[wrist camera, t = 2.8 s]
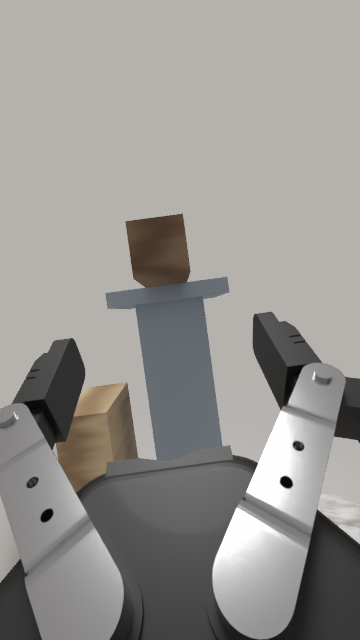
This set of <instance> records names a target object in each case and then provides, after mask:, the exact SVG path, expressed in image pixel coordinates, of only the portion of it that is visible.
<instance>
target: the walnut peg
mask: <svg viewBox="0 0 360 640" xmlns="http://www.w3.org/2000/svg"><path fill="white" fill-rule="evenodd" d="M126 228H127V235H128V242H129V249H130V257H131V264H132V271H133V278H134V279H135V280H136V281H137V282H139V283H140V284H142V285H143V286H144V287H146V288H148V287H156V286H163V285H171V284H178V283H185V282H187V279H188V277H189V274H190V266H189V258H188V250H187V242H186V235H185V227H184V220H183V214H178V215H170V216H164V217H155V218H148V219H140V220H133V221H126Z"/></svg>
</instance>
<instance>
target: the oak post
mask: <svg viewBox="0 0 360 640" xmlns="http://www.w3.org/2000/svg"><path fill="white" fill-rule="evenodd" d="M56 447H57V452H58V460H59V463H60V465H61V467H62V468H63V470H64V472H65V474H66V476H67V477H68V479H69V481H70V483H71V484H72V486H73V488H74V490H75V491H76V493H77V492H78V491H79V490H80V489H81V488H82V487H83V486H85V485H86V484H87V483H88V482H90V481H91V480H93V479H94V478H96V477H98V476H100V475H102V474H104V473H106V468H107V462H113V461H120V460H128V459H135V458H138V455H137V447H136V440H135V434H134V427H133V419H132V412H131V405H130V398H129V391H128V384H127V382H126V383H119V384H111V385H104V386H97V387H89V388H88V389H87V390H86V391H85V392H83V393H82V394H81V395H80V396H79V400H78V403H77V406H76V410H75V413H74V417H73V420H72V423H71V427H70V430H69V433H68V437H67V440H66V442H59V443H56Z"/></svg>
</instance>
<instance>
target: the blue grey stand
mask: <svg viewBox="0 0 360 640" xmlns="http://www.w3.org/2000/svg"><path fill="white" fill-rule="evenodd" d="M228 292H229V287H228V279H227V277H223V278H215V279H208V280H200V281H193V282H185V283H178V284H171V285H163V286H156V287H148V288H141V289H134V290H127V291H120V292H111V293H106V300H107V307H108V309H109V308H110V309H132V308H136V314H137V321H138V328H139V335H140V342H141V349H142V357H143V364H144V371H145V378H146V385H147V392H148V399H149V407H150V414H151V421H152V428H153V435H154V442H155V449H156V456H157V460H158V461H172V460H175V459H177V458H180V457H182V456H185V455H187V454H190V453H192V452H195V451H197V450H200V449H208V448H215V447H222V440H221V432H220V425H219V417H218V410H217V403H216V394H215V387H214V379H213V372H212V364H211V356H210V348H209V341H208V334H207V326H206V318H205V312H204V303H203V299H206V298H214V297H217V296H220V295H222V294H225V293H228Z"/></svg>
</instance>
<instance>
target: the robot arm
mask: <svg viewBox="0 0 360 640" xmlns="http://www.w3.org/2000/svg"><path fill="white" fill-rule="evenodd" d="M253 349H254V354H255V356H256V359H257V361H258V363H259V365H260V367H261V369H262V371H263V373H264V375H265V378H266V379H267V382H268V384H269V386H270V388H271V390H272V393H273V394H274V397H275V399H276V401H277V403H278V405H279V407H280V409H281V412H280V414H279V417H278V419H277V421H276V424H275V426H274V429H273V431H272V433H271V435H270V438H269V440H268V443H267V445H266V447H265V450H264V452H263V454H262V457H261V460H260V461H259V463H257V462H254V461H253V460H250V459H248V458H244V457H240V456H235V455H232V452H231V448H230V446H222V447H215V448H208V449H200V450H197V451H195V452H192V453H190V454H187V455H185V456H182V457H180V458H177V459H175V460H172V461H158V460H149V459H140V458H135V459H128V460H120V461H113V462H107V468H106V473H104V474H102V475H100V476H98V477H96V478H94V479H93V480H91V481H90V482H88V483H87V484H86V485H85V486H83V487H82V488H81V489H80V490H79V491H78V492H77V493H76V491H75V490H74V488H73V486H72V484H71V483H70V481H69V479H68V477H67V476H66V474H65V472H64V470H63V468H62V467H61V465H60V463H59V461H58V460H57V458H56V456H55V454H54V452H53V451H52V450H53V447H54V444H55V443H59V442H66V440H67V437H68V433H69V430H70V427H71V423H72V420H73V417H74V413H75V410H76V406H77V403H78V400H79V396H80V393H81V390H82V386H83V383H84V379H85V368H84V364H83V361H82V359H81V356H80V353H79V350H78V348H77V345H76V342H75V341H74V339H72V338H70V339H64V340H56V341H54V342H53V344H52V346H51V348H50V350H49V352H48V353H44V354H43V355H42V356H40V357H39V358H38V359H37V360H36V361H35V362H34V364H33V366H32V368H31V370H30V372H29V373H28V375H27V377H26V380H24V383H23V384H22V386H21V388H20V390H19V391H18V393H17V395H16V397H15V399H14V401H13V403H12V404H11V405H8V406H6V407H4V408H1V409H0V495H1V498H2V502H3V505H4V508H5V510H6V514H7V517H8V520H9V523H10V526H11V530H12V532H13V535H14V539H15V542H16V545H17V548H18V551H19V554H20V557H21V559H20V560H19V561H18V562H17V564H16V565H15V566H14V567H13V569H12V570H11V571H10V572H9V573H8V574H7V576H6V577H5V578H4V579H3V580H2V581H1V583H0V640H360V544H359V543H357V542H356V541H355V540H354V539H353V538H351V537H350V536H349V535H348V534H347V533H345V532H344V531H343V530H342V529H340V528H339V527H338V526H337V525H336V524H334V523H333V522H332V521H331V520H329V519H328V518H327V517H326V516H325V515H323V514H322V513H321V512H320V511H319V510H317V507H318V502H319V498H320V494H321V489H322V485H323V480H324V476H325V472H326V467H327V463H328V459H329V454H330V450H331V446H332V441H333V437H334V436H335V437H341V438H349V439H355V440H358V441H359V443H360V379H357V378H348V377H345V376H344V375H343V374H342V372H341V371H340V370H338V369H337V368H335V367H333V366H331V365H328V364H324V363H322V362H321V360H320V359H319V358H318V357H317V355H316V354H315V353H314V351H313V350H312V349H311V347H310V346H309V345H308V344H307V342H305V339H304V338H303V337H302V336H301V334H300V333H299V332H298V330H297V329H296V328H295V327H294V326H292V325H291V324H289V323H287V322H286V321H284V322H279V321H278V320H277V318H276V317H275V315H274V314H273V313H272V312H267V313H259V314H254V317H253Z"/></svg>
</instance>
